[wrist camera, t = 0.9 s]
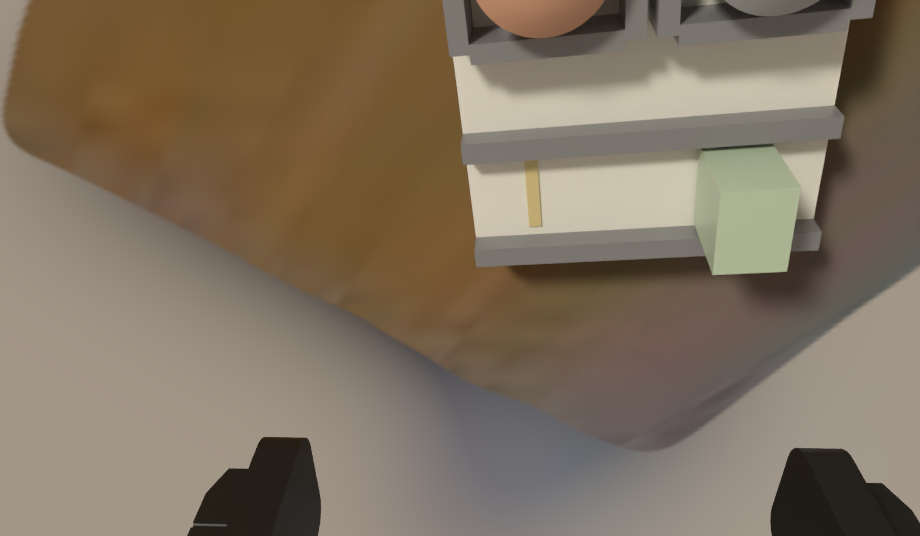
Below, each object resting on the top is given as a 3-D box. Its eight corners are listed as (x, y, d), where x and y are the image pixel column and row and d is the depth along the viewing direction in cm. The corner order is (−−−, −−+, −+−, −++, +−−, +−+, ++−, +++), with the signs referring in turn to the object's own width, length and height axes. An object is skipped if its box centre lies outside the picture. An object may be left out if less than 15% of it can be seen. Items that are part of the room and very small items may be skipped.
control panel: (431, -198, 28) (410, -195, 23) (867, -262, 25) (937, -272, 21) (483, 234, 39) (476, 292, 34) (789, 217, 36) (824, 277, 32)
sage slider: (699, 144, 31) (720, 192, 28) (770, 139, 31) (801, 186, 27) (693, 222, 33) (712, 275, 30) (759, 218, 33) (786, 271, 29)
